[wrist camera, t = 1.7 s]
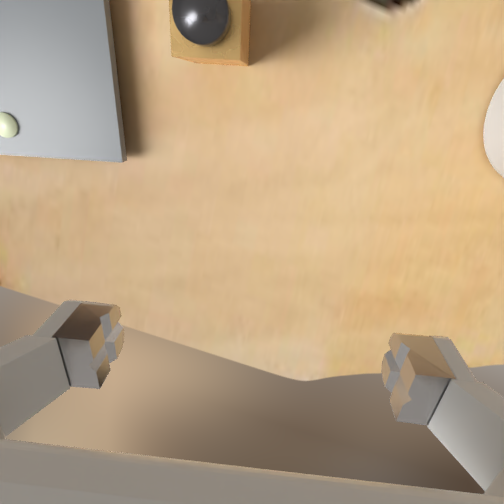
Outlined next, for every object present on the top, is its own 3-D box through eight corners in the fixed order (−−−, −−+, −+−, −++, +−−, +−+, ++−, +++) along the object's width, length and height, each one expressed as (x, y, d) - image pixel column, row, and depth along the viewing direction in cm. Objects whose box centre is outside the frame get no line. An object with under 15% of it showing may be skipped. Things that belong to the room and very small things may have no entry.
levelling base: (110, -26, 30) (97, -35, 28) (130, 158, 37) (121, 163, 35) (-44, -34, 30) (-69, -43, 28) (5, 150, 38) (-12, 154, 35)
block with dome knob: (250, 2, 30) (240, -37, 21) (248, 66, 33) (237, 58, 23) (195, -1, 31) (158, -41, 21) (196, 63, 33) (163, 54, 23)
